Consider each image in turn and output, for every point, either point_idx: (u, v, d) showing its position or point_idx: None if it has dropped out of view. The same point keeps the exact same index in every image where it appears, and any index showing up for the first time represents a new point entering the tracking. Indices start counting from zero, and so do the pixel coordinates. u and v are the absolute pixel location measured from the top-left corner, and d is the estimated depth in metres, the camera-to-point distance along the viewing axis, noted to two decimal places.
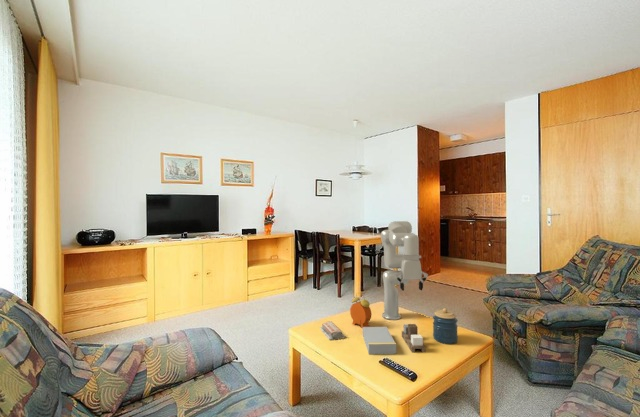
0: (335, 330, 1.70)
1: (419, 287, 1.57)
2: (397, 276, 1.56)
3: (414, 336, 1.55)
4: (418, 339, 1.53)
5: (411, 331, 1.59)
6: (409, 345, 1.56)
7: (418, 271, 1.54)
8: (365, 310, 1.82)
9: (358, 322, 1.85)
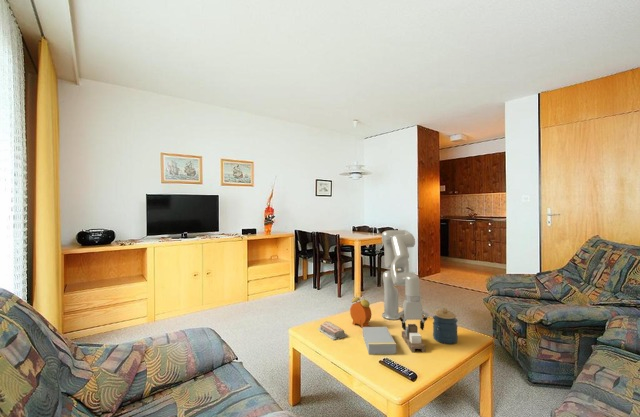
0: (337, 330, 1.71)
1: (420, 326, 1.62)
2: (399, 316, 1.61)
3: (413, 334, 1.57)
4: (417, 337, 1.55)
5: (411, 331, 1.59)
6: (409, 345, 1.56)
7: (419, 311, 1.59)
8: (365, 310, 1.82)
9: (358, 322, 1.85)
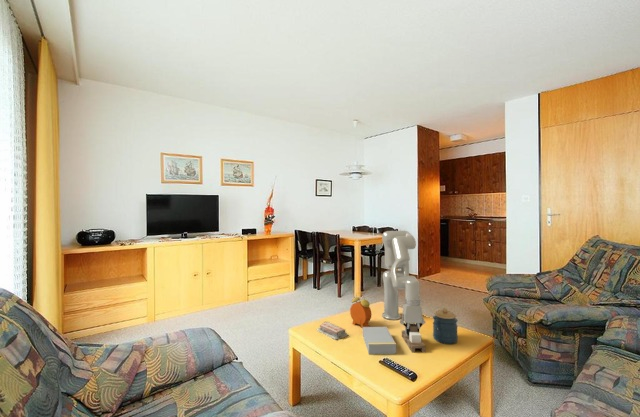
0: (339, 329, 1.71)
1: None
2: (402, 323, 1.61)
3: (412, 333, 1.57)
4: (416, 336, 1.55)
5: (411, 331, 1.59)
6: (409, 345, 1.56)
7: (419, 315, 1.59)
8: (365, 310, 1.82)
9: (358, 322, 1.85)
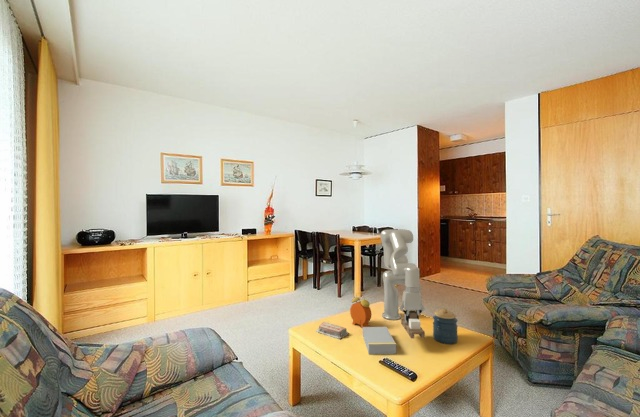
0: (340, 328, 1.72)
1: None
2: (402, 309, 1.61)
3: (412, 320, 1.58)
4: (416, 323, 1.56)
5: (411, 317, 1.60)
6: (408, 331, 1.57)
7: (419, 302, 1.59)
8: (365, 310, 1.82)
9: (358, 322, 1.85)
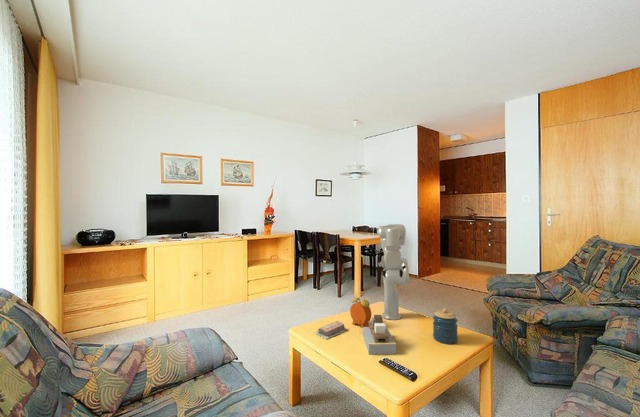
0: (339, 322, 1.81)
1: (399, 274, 1.77)
2: (380, 265, 1.76)
3: (377, 324, 1.57)
4: (381, 327, 1.56)
5: (376, 321, 1.60)
6: (373, 335, 1.56)
7: (398, 260, 1.74)
8: (365, 310, 1.82)
9: (358, 322, 1.85)
